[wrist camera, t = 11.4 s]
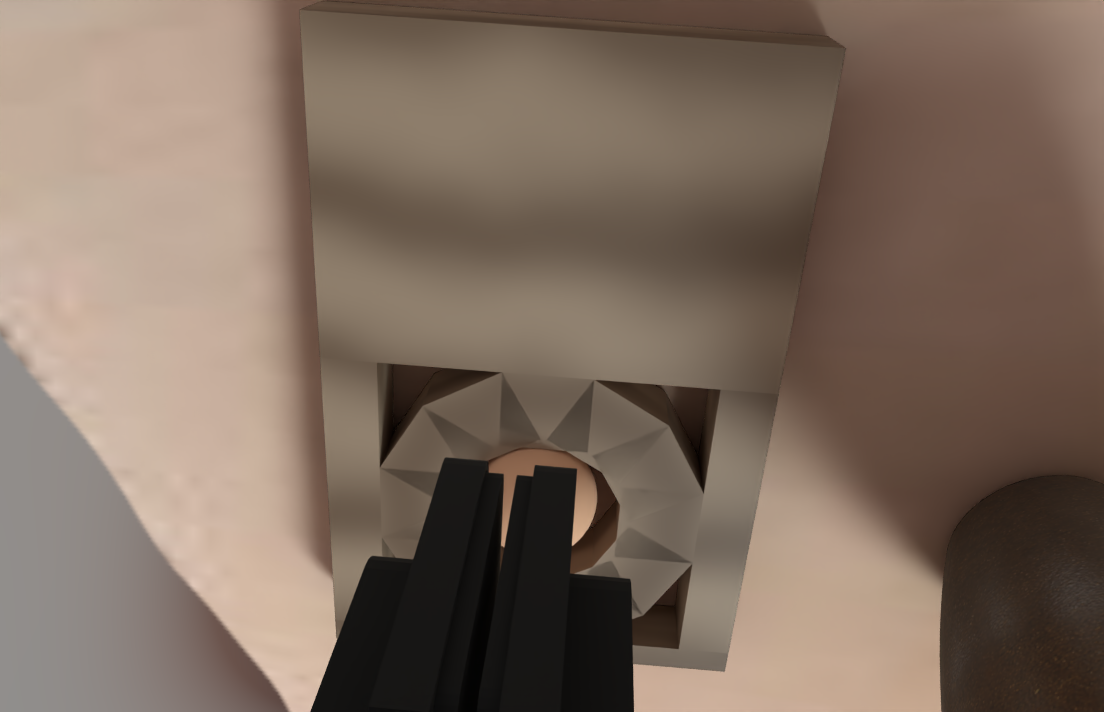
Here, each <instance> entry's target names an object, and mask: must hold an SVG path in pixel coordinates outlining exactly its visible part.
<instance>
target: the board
mask: <svg viewBox="0 0 1104 712" xmlns="http://www.w3.org/2000/svg"><path fill="white" fill-rule="evenodd" d="M299 12H300V28H301V45H302V62H303V79H304V96H305V113H306V130H307V147H308V164H309V181H310V198H311V215H312V232H313V249H314V266H315V283H316V299H317V316H318V333H319V350H320V367H321V384H322V401H323V418H324V435H325V452H326V469H327V486H328V503H329V520H330V537H331V554H332V570H333V587H334V604H335V621H336V638H337V639H338V637H339V634H340V631H341V628H342V626H343V623H344V620H345V618H346V615H347V612H348V610H349V607H350V604H351V602H352V599H353V596H354V594H355V591H356V588H357V586H358V583H359V580H360V578H361V575H362V572H363V569H364V567H365V565H366V563H367V561H368V559H369V558H370V557H371V556H382V557H393V558H404V559H413V558H414V555H415V552H416V549H417V545H418V542H419V539H420V535H421V532H422V529H423V526H424V522H425V519H426V516H427V512H428V509H429V506H430V503H431V499H432V496H433V493H434V489H435V486H436V483H437V480H438V476H439V473H440V470H441V466H442V463H443V461H444V458H446V457H449V458H460V459H472V460H484V461H488V460H490V459H493V458H495V457H498V456H500V455H503V454H505V453H508V452H510V451H513V450H515V449H518V448H520V447H525V448H537V449H549V450H562V451H567V452H568V453H570V454H572V455H573V456H575V457H577V458H578V459H580V460H582V461H583V462H585V463H587V464H589V465H590V466H592V467H594V468H595V469H597V470H599V471H600V472H602V474H603V475H604V477H605V479H606V481H607V482H608V484H609V486H610V488H611V490H612V491H613V493H614V495H615V497H616V502H615V503H614V504H613V505H612V507H611V508H610V509H609V510H608V511H607V512H606V513H605V515H604V516H603V517H602V518H601V519H600V520H599V522H598V523H597V524H596V525H595V526H594V527H593V528H591V529H588V530H587V531H586V532H585V534H584V535H583V536H582V538H581V539H580V540H579V541H578V542H576V543H575V544H574V545H573V546H572V551H571V566H570V573H572V574H583V575H594V576H605V577H617V578H628V579H630V580H631V589H632V636H633V664H641V665H653V666H665V667H676V668H688V669H700V670H711V671H723V672H725V667H726V662H727V657H728V652H729V647H730V642H731V637H732V631H733V626H734V621H735V616H736V611H737V606H738V601H739V596H740V590H741V585H742V580H743V575H744V570H745V565H746V560H747V554H748V549H749V544H750V539H751V534H752V529H753V524H754V518H755V513H756V508H757V503H758V498H759V493H760V488H761V482H762V477H763V472H764V467H765V462H766V457H767V452H768V446H769V441H770V436H771V431H772V426H773V421H774V416H775V410H776V405H777V400H778V395H779V390H780V385H781V380H782V374H783V369H784V364H785V359H786V354H787V349H788V344H789V338H790V333H791V328H792V323H793V318H794V313H795V308H796V302H797V297H798V292H799V287H800V282H801V277H802V272H803V266H804V261H805V256H806V251H807V246H808V241H809V236H810V231H811V225H812V220H813V215H814V210H815V205H816V200H817V195H818V189H819V184H820V179H821V174H822V169H823V164H824V159H825V153H826V148H827V143H828V138H829V133H830V128H831V123H832V117H833V112H834V107H835V102H836V97H837V92H838V87H839V81H840V76H841V71H842V66H843V61H844V56H845V51H846V48H845V47H843V46H842V45H840V44H839V43H837V42H836V41H834V40H833V39H831V38H830V37H828V36H817V35H803V34H789V33H775V32H760V31H746V30H732V29H718V28H703V27H689V26H675V25H661V24H647V23H632V22H618V21H604V20H590V19H575V18H561V17H547V16H533V15H519V14H504V13H490V12H476V11H462V10H448V9H433V8H419V7H405V6H391V5H376V4H362V3H348V2H334V1H321V2H318V3H316V4H313V5H311V6H308V7H305V8H303V9H300V10H299ZM392 364H402V365H415V366H427V367H440V368H446V369H444V370H441V371H439V372H437V373H434V375H433V376H432V378H431V379H430V381H429V382H428V384H427V385H426V386H425V388H424V389H423V391H422V392H421V394H420V395H419V397H418V398H417V399H416V401H415V402H414V404H413V405H412V407H411V408H410V410H409V411H408V413H407V414H406V415H405V417H404V418H403V420H402V421H401V423H400V424H399V426H398V427H397V428H396V430H395V431H394V424H393V373H392ZM654 384H655V385H668V386H681V387H693V388H706V389H709V390H708V396H707V403H706V409H705V415H704V422H703V428H702V435H701V441H700V448H699V454H698V456H697V454H696V452H695V450H694V448H693V446H692V444H691V442H690V440H689V438H688V436H687V434H686V432H685V430H684V428H683V426H682V424H681V422H680V420H679V418H678V416H677V414H676V412H675V410H674V408H673V406H672V404H671V402H670V400H669V398H668V396H667V394H666V392H665V391H663V390H662V389H660V388H658V387H657V386H655V385H654ZM503 552H504V547H503V546H501V561H500V569H501V563H502V558H503ZM678 578H679V583H678V590H677V596H676V602H675V607H674V606H662V605H654V603H655V602H656V601H657V600H658V599H659V598H660V597H661V596H662V595H663V594H664V593H665V592H666V591H667V590H668V589H669V588H670V587H671V586H672V585H673V583H674V582H675V581H676V580H677V579H678Z"/></svg>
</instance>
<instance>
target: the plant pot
mask: <svg viewBox="0 0 1104 712" xmlns="http://www.w3.org/2000/svg"><path fill="white" fill-rule="evenodd" d="M940 687H941V711H942V712H1104V484H1102V483H1099V482H1096V481H1093V480H1089V479H1086V478H1081V477H1074V476H1046V477H1038V478H1032V479H1028V480H1024V481H1021V482H1018V483H1015V484H1012V485H1009V486H1007V487H1005V488H1003V489H1000V490H998V491H997V492H995V493H993V494H991V495H990V496H988V497H987V498H985V499H984V500H982V501H981V502H980V503H979V504H977V505H976V506H975V507H973V508H972V509H971V510H970V511H969V512H968V513H967V514H966V515H965V517H964V518H963V519H962V521H961V522H960V523H959V524H958V526H957V527H956V529H955V531H954V533H953V535H952V537H951V540H950V543H949V545H948V549H947V555H946V562H945V569H944V577H943V588H942V601H941V619H940Z"/></svg>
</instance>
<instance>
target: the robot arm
mask: <svg viewBox="0 0 1104 712" xmlns="http://www.w3.org/2000/svg"><path fill="white" fill-rule="evenodd" d="M576 481H577V468H565V467H553V466H542V465H535V467H534V473H533V476H524V475H517V477H516V482H515V488H514V494H513V500H512V505H511V511H510V517H509V523H508V529H507V534H506V540H505V546H504V552H503V558H502V563H501V569H500V561H501V538H502V515H503V493H504V474H501V473H489V463H488V461H484V460H472V459H460V458H449V457H446V458H444V461H443V463H442V466H441V470H440V473H439V476H438V480H437V483H436V486H435V489H434V493H433V496H432V499H431V503H430V506H429V509H428V512H427V516H426V519H425V522H424V526H423V529H422V532H421V535H420V539H419V542H418V545H417V549H416V552H415V555H414V558H413V559H404V558H393V557H382V556H371V557H370V558H369V559H368V561H367V563H366V565H365V567H364V569H363V572H362V575H361V578H360V580H359V583H358V586H357V588H356V591H355V594H354V596H353V599H352V602H351V604H350V607H349V610H348V612H347V615H346V618H345V620H344V623H343V626H342V628H341V631H340V634H339V637H338V639H337V642H336V645H335V647H334V650H333V653H332V655H331V658H330V661H329V663H328V666H327V669H326V671H325V674H324V677H323V679H322V682H321V685H320V688H319V690H318V693H317V696H316V698H315V701H314V704H313V706H312V709H311V712H634V690H633V636H632V589H631V580H630V579H628V578H617V577H605V576H594V575H583V574H572V573H570V566H571V551H572V537H573V523H574V509H575V495H576Z"/></svg>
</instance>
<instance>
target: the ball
mask: <svg viewBox="0 0 1104 712" xmlns="http://www.w3.org/2000/svg"><path fill="white" fill-rule="evenodd" d="M488 463H489V473H501V474H504V493H503V515H502V538H501V546H503V547H504V546H505V540H506V534H507V529H508V523H509V517H510V511H511V505H512V500H513V494H514V488H515V482H516V477H517V475H524V476H533V473H534V467H535V465H542V466H553V467H565V468H577V481H576V495H575V509H574V523H573V537H572V546H573V545H574V544H575V543H576V542H578V541H579V540H580V539H581V538H582V536H583V535H584V534H585V532H586V531H587V530H588V528H589V526H590V524H591V522H592V520H593V517H594V514H595V510H596V505H597V488H596V483H595V479H594V476H593V474H592V471H591V469H590V467H589V465H588V464H587V463H585V462H583V461H582V460H580V459H578V458H577V457H575V456H573V455H572V454H570V453H568V452H567V451H562V450H549V449H537V448H525V447H520V448H518V449H515V450H513V451H510V452H508V453H505V454H503V455H500V456H498V457H495V458H493V459H490V460H489V462H488Z"/></svg>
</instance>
